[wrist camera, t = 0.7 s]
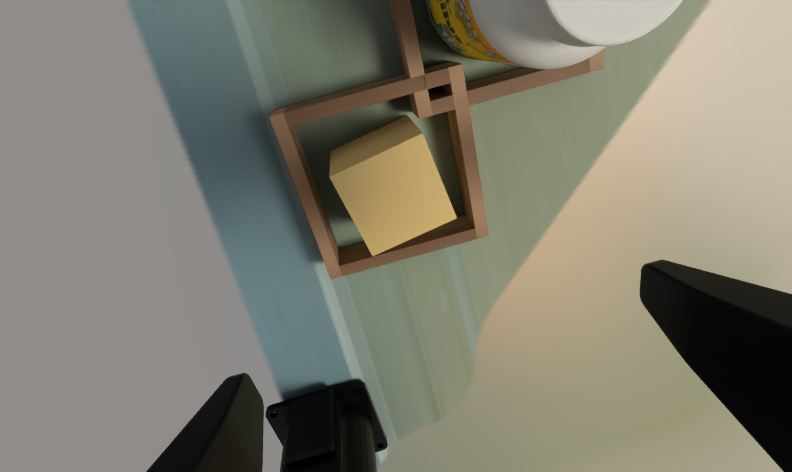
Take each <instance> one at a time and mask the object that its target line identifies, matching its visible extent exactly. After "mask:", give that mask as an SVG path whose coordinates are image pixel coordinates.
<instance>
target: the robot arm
mask: <svg viewBox="0 0 792 472" xmlns="http://www.w3.org/2000/svg"><path fill="white" fill-rule="evenodd" d="M640 298H641V301H642V303H643V305H644V306H645V307H646V309H647V310H648V312H649V313H650V314H651V316H652V317H653V318H654V320H655V321H656V323H657V324H658V325H659V327H660V328H661V330H662V331H663V332H664V333H665V335H666V336H667V338H668V339H669V340H670V342H671V343H672V345H673V346H674V347H675V349H676V350H677V351H678V353H679V354H680V355H681V357H682V358H683V359H684V360H685V362H686V363H687V364H688V365H689V366H690V368H691V369H692V370H693V371H694V372H695V373H696V374H697V375H698V377H700V379H701V380H702V381H703V382H704V383H705V384H706V385H707V387H708V388H709V389H710V390H711V391H712V392H713V393H714V394H715V395H716V397H717V398H718V399H719V400H720V401H721V402H722V403H723V404H724V405H725V407H726V408H727V409H728V410H729V411H730V412H731V413H732V414H733V416H734V417H735V418H736V419H737V420H738V421H739V422H740V423H741V424H742V426H743V427H744V428H745V429H746V430H747V431H748V432H749V433H750V435H751V436H752V437H753V438H754V439H755V440H756V441H757V442H758V443H759V445H760V446H761V447H762V448H763V449H764V450H765V451H766V452H767V454H769V456H770V457H771V458H772V459H773V460H774V461H775V462H776V464H778V466H779V467H780V468H781V469H782V470H783V471H784V472H792V294H789V293H785V292H782V291H778V290H773V289H770V288H767V287H763V286H759V285H755V284H751V283H748V282H744V281H740V280H737V279H733V278H729V277H725V276H722V275H718V274H714V273H710V272H707V271H703V270H699V269H696V268H692V267H688V266H684V265H681V264H677V263H673V262H670V261H666V260H658V261H655V262H651V263H647V264H645V265H643V267H642V269H641V281H640ZM357 389H358V390H357ZM273 412H276V413H273ZM263 417H264V406H263V400H262V397H261V395H260V394H259V392H258V390H257V388H256V387H255V385H254V383H253V381H252V379H251V378H250V376H249V375H248V374H246V373H242V374H238V375H234V376H230V377H228V378H227V379H226V380H225V381H224V382H223V383H222V384H221V385H220V386H219V388H218V389H217V390H216V391H215V392H214V394H213V395H212V396H211V397H210V398H209V399H208V401H207V402H206V403H205V404H204V405H203V406H202V407H201V409H200V410H199V411H198V412H197V413H196V414H195V416H194V417H193V418H192V419H191V420H190V421H189V423H188V424H187V425H186V426H185V427H184V428H183V430H182V431H181V432H180V433H179V434H178V435H177V437H176V438H175V439H174V440H173V441H172V442H171V444H170V445H169V446H168V447H167V448H166V449H165V451H164V452H163V453H162V454H161V455H160V457H159V458H158V459H157V460H156V461H155V462H154V463H153V465H152V466H151V467H150V468H149V469H148V470H147V472H262V463H263V459H262V458H263ZM266 418H267V419H268V421H269V423H270V425H271V426H272V428H273V430H274V431H275V433H276V435H277V437H278V438H279V440H280V442H281V443H282V445H283V453H282V461H281V468H280V472H377V468H376V457H375V452H378V451H381V450H384V449H385V448H387V438H386V436H385V433H384V431H383V428H382V425H381V423H380V420H379V418H378V415H377V413H376V410H375V408H374V405H373V402H372V400H371V397H370V395H369V392H368V390H367V387H366V384H365V383H364V382H362V381H355V382H351V383H348V384H344V385H340V386H337V387H333V388H330V389H326V390H322V391H319V392H315V393H312V394H308V395H305V396H301V397H297V398H294V399H290V400H287V401H283V402H280V403H276V404H272V405H270V406H268V407H267V410H266Z"/></svg>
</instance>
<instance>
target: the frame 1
mask: <svg viewBox="0 0 792 472" xmlns="http://www.w3.org/2000/svg"><path fill="white" fill-rule="evenodd" d="M424 73H425V77H424V79H423V76H424V75H420V76H421V77H420V76H417V77H413V78H410V77H408V76H406V75H405V74H403V75H399V76H396V77H392V78H388V79H385V80H381V81H377V82H374V83H370V84H367V85H363V86H359V87H356V88H352V89H348V90H345V91H341V92H337V93H334V94H330V95H327V96H323V97H319V98H316V99H312V100H308V101H305V102H301V103H297V104H294V105H290V106H286V107H283V108H279V109H276V110H274V112H273V113H272V114H271V115H270V116H269V118H270V121H271V124H272V126H273V129H274V131H275V134H276V137H277V139H278V142H279V145H280V147H281V150H282V152H283V155H284V158H285V160H286V163H287V166H288V168H289V171H290V173H291V176H292V179H293V181H294V184H295V187H296V189H297V192H298V194H299V197H300V200H301V202H302V205H303V208H304V210H305V213H306V215H307V218H308V221H309V223H310V226H311V229H312V231H313V234H314V236H315V239H316V242H317V244H318V247H319V250H320V252H321V255H322V257H323V260H324V263H325V265H326V268H327V271H328V273H329V276H330V278H331V279H334V278H337V277H341V276H345V275H348V274H352V273H356V272H359V271H363V270H366V269H370V268H374V267H377V266H381V265H384V264H388V263H392V262H395V261H399V260H402V259H406V258H410V257H413V256H417V255H420V254H424V253H428V252H431V251H435V250H438V249H442V248H446V247H449V246H453V245H456V244H460V243H464V242H467V241H471V240H475V239H478V238H482V237H485V236H489V235H488V228H487V222H486V215H485V208H484V202H483V195H482V189H481V182H480V176H479V169H478V163H477V156H476V149H475V143H474V136H473V130H472V123H471V117H470V110H469V106H468V97H467V90H466V84H465V77H464V71H463V64H461V63H457V62H453V61H450V62H447V63H443V64H439V65H436V66H432V67H428V68H425V69H424ZM419 77H420V78H419ZM413 79H414V81H412V80H413ZM418 79H419V80H418ZM422 79H423V80H425V79H426V80H425V81H423V80H422ZM411 81H412V82H411ZM424 82H425V83H424ZM414 83H416V84H414ZM417 83H418V84H417ZM422 83H423V84H425V85H422V86H421V84H422ZM426 83H427V84H426ZM441 85H442V86H443V90H445V91H446V92H448V93H450V94H452V95H453V98H454V104H455V106H456V107H455V110H451V111H447V114H448V120H449V126H450V131H451V137H452V142H453V148H454V154H455V159H456V165H457V170H458V176H459V182H460V187H461V193H462V199H463V204H464V210H465V214H464V215H460V216H457V218H456V219H454V220H452V221H450V222H448V223H445V224H443V225H441V226H439V227H437V228H434V229H432V230H430V231H428V232H426V233H423V234H421V235H419V236H417V237H415V238H412V239H410V240H408V241H406V242H403V243H401V244H399V245H397V246H395V247H392V248H390V249H388V250H386V251H384V252H381V253H379V254H377V255H375V256H372V254H371V252H370V251H369V249H368V247H367V245H366V243H365V242H363V243H359V244H355V245H352V246H348V247H345V248H341V249H339V248H338V246H337V243H336V240H335V237H334V234H333V232H332V229H331V226H330V223H329V220H328V217H327V215H326V212H325V209H324V206H323V203H322V201H321V198H320V195H319V192H318V189H317V187H316V184H315V181H314V178H313V175H312V172H311V170H310V167H309V164H308V161H307V158H306V156H305V153H304V150H303V147H302V144H301V141H300V139H299V136H298V133H297V130H296V127H295V126H296V125H300V124H303V123H307V122H310V121H314V120H318V119H321V118H325V117H329V116H332V115H336V114H340V113H343V112H347V111H350V110H354V109H358V108H361V107H365V106H369V105H372V104H376V103H379V102H383V101H387V100H390V99H394V98H398V97H401V96H405V95H409V94H412V93H416V92H419V91H423V90H427V89H430V88H434V87H438V86H441ZM424 86H425V87H424ZM414 87H415V88H414ZM421 88H423V89H421ZM456 94H457V95H456ZM455 95H456V96H455ZM458 95H460V96H458ZM463 98H464V99H463ZM465 98H466V99H465ZM459 99H460V100H459ZM462 99H463V100H464V102H465V103H464V102H463V100H462ZM456 100H457V101H456ZM459 101H460V102H459ZM458 103H459V104H458ZM460 105H461V106H460Z"/></svg>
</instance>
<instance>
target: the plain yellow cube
mask: <svg viewBox="0 0 792 472" xmlns="http://www.w3.org/2000/svg"><path fill="white" fill-rule="evenodd" d="M329 178H330V179H331V181H332V183H333V185H334V187H335V188H336V190H337V192H338V194H339V196H340V198H341V199H342V201H343V203H344V205H345V207H346V209H347V210H348V212H349V214H350V216H351V218H352V220H353V221H354V223H355V225H356V227H357V229H358V230H359V232H360V234H361V236H362V238H363V240H364V241H365V243H366V245H367V247H368V249H369V251H370V252H371V254H372V256H375V255H377V254H379V253H381V252H384V251H386V250H388V249H390V248H392V247H395V246H397V245H399V244H401V243H403V242H406V241H408V240H410V239H412V238H415V237H417V236H419V235H421V234H423V233H426V232H428V231H430V230H432V229H434V228H437V227H439V226H441V225H443V224H445V223H448V222H450V221H452V220H454V219H456V218H457V217H456V214H455V212H454V209H453V207H452V204H451V202H450V200H449V197H448V195H447V192H446V190H445V187H444V185H443V182H442V180H441V177H440V175H439V172H438V170H437V167H436V165H435V162H434V160H433V158H432V155H431V153H430V150H429V148H428V145H427V143H426V140H425V138H424V135H423V133H422V132H421V131H420V130H419V128H418V127H417V126H416V125H415V124H414V123H413V121H412V120H411V119H410V118H409V117H408V116H407V115H406V116H404V117H402V118H400V119H398V120H396V121H393V122H391V123H389V124H387V125H385V126H383V127H381V128H379V129H377V130H375V131H372V132H370V133H368V134H366V135H364V136H362V137H360V138H358V139H356V140H354V141H352V142H349V143H347V144H345V145H343V146H341V147H339V148H337V149H335V150H333V151H331V152H330V174H329Z"/></svg>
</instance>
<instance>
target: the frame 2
mask: <svg viewBox="0 0 792 472" xmlns="http://www.w3.org/2000/svg"><path fill="white" fill-rule="evenodd" d="M388 1H389V6H390V11H391V15H392V20H393V24H394V29H395V34H396V38H397V43H398V48H399V52H400V57H401V61H402V66H403V71H404V74H405V75H406V76H408V77H410V78H413V77H417V76H420V75H424V76H423V79H424V77H425V73H424V68H423V62H422V57H421V52H420V47H419V42H418V37H417V32H416V27H415V21H414V16H413V11H412V6H411V1H410V0H388ZM600 69H603V50H601V51H600V52H598V53H597V54H595V55H593V56H592V57H590V58H588V59H586V60H584V61H582V62H579V63H577V64H574V65H571V66H567V67H563V68H556V69H535V68H528V67H524V68H520V69H517V70H513V71H509V72H506V73H502V74H498V75H495V76H491V77H488V78H484V79H480V80H477V81H473V82H469V83H466V90H467V97H468V106H469V105H473V104H476V103H480V102H484V101H487V100H491V99H494V98H498V97H502V96H505V95H509V94H513V93H516V92H520V91H523V90H527V89H531V88H534V87H538V86H542V85H545V84H549V83H553V82H556V81H560V80H563V79H567V78H571V77H574V76H578V75H582V74H585V73H589V72H592V71H596V70H600ZM420 77H421V76H420ZM420 77H419V78H420ZM423 79H422V80H423ZM418 80H419V79H418ZM425 80H426V79H425ZM425 80H423V81H425ZM412 81H414V79H413V80H412ZM412 81H411V82H412ZM424 83H425V82H424ZM414 84H416V83H414ZM417 84H418V83H417ZM426 84H427V83H426ZM422 85H425V84H423V83H422V84H421V86H422ZM424 87H425V86H424ZM414 88H415V87H414ZM421 89H423V88H421ZM456 95H457V94H456ZM456 95H455V96H456ZM458 96H460V95H458ZM409 98H410V103H411V107H412V112H413V113H414V114H415V115H416V116H417V117H418V118H419V119H422V118H425V117H429V116H433V115H436V114H440V113H444V112H447V111H451V110H455V107H456V106H455V104H454V98H453V95H452V94H450V93H448V92H446V91H445V90H440V91H437V92H433V93H428V89H427V90H423V91H419V92H416V93H412V94H409ZM463 99H464V98H463ZM463 99H462V100H463ZM465 99H466V98H465ZM459 100H460V99H459ZM456 101H457V100H456ZM459 102H460V101H459ZM463 102H464V100H463ZM464 103H465V102H464ZM458 104H459V103H458ZM460 106H461V105H460Z"/></svg>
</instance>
